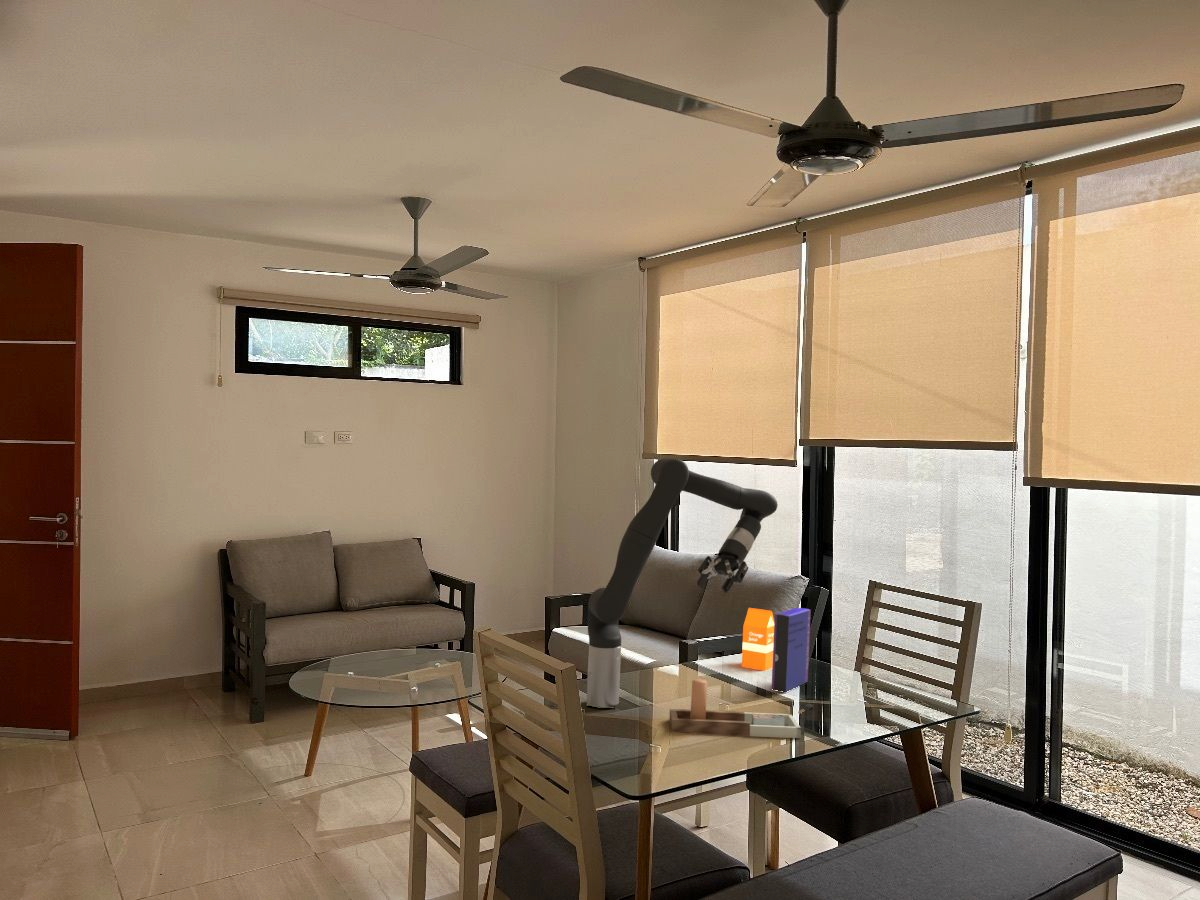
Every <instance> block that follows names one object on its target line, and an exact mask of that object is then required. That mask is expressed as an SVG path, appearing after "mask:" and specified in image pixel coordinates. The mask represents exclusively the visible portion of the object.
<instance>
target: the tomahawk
mask: <svg viewBox="0 0 1200 900" xmlns="http://www.w3.org/2000/svg"><path fill="white" fill-rule="evenodd" d="M805 707H807V708H810V709H812V708H813V707H814V705H813V704H811V703H807V704H805V706H804V708H805ZM804 708H802V709H800V710H799V711H797V713H798V714H799V715H800V713H801V714H802V712H804V711H805V710H804ZM802 715H803V714H802Z"/></svg>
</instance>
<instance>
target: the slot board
mask: <svg viewBox="0 0 1200 900" xmlns="http://www.w3.org/2000/svg"><path fill="white" fill-rule="evenodd" d="M744 712H745V711H730V710H729V711H728V710H708V709H706V718H705V720H703V719H690V714H691V709H684V708H683V709H682V708H681V709H680V708H669V717H668V720H669V723H670V724H669V725H670V729H671V732H672V734H688V735H689V734H690V735H691V734H692V735H711V736H713V735H714V736H715V735H716V736H734V737H736V736H737V737H739V736H740V737H751V736H750V735H749V733H750V725H751V723H750V722H749V721H744V718H745V713H744Z"/></svg>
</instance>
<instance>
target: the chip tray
mask: <svg viewBox="0 0 1200 900" xmlns="http://www.w3.org/2000/svg"><path fill="white" fill-rule="evenodd" d="M743 712H744V713H745V718H744V721H749V722H750V733H749V735H750V736H749V737H760V738H761V737H763V738H769V737H770V738H782V739H783V738H785V739H786V738H787V739H801V737H802V736H801V732H802V727H801V726H800V725H799V723H798V722H797V720H796V719H795V718H794V717H793V716H794V715H792V713H774V714H775V715H783V717H784V719H785V721H784V726H769V725H752V713H753V712H746V711H743ZM754 713H755V714H773V713H771V712H769V713H768V712H767V713H766V712H754Z"/></svg>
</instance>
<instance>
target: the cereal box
mask: <svg viewBox="0 0 1200 900" xmlns="http://www.w3.org/2000/svg"><path fill="white" fill-rule="evenodd" d="M811 614H812V613H811V609H809V608H805V607H804V608H803V607H794V608H791V609H789V610H785V611H782V612H781V611H780V612H778V613H775V614H774V643H773V666H772V668H771V669H772V671H771V672H772V673H771V690H772V689H773V690H778V691H783V692H787V691H789V690H791V689H793V688H795V689H797V688H799V687H801V686H800V685H802V684H804V683H806V682H808V679H809V658H810V657H809V656H810V637H811V636H810V635H811V634H810V632H811ZM806 684H807V683H806ZM804 685H805V684H804ZM798 686H799V687H798ZM802 686H803V685H802ZM796 687H797V688H796ZM773 690H772V691H773ZM793 690H794V689H793ZM778 691H777V692H778ZM791 691H792V690H791ZM783 692H782V693H783ZM789 692H790V691H789ZM787 693H788V692H787Z"/></svg>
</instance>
